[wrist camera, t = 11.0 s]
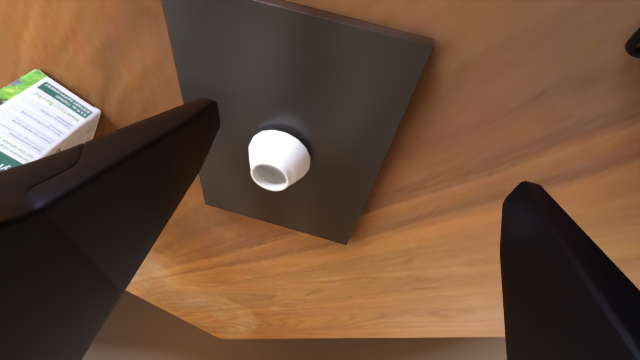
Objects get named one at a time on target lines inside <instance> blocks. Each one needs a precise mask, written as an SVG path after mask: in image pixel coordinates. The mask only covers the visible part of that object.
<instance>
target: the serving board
mask: <svg viewBox="0 0 640 360" xmlns="http://www.w3.org/2000/svg"><path fill="white" fill-rule="evenodd" d="M161 1H162V6H163V11H164V15H165V20H166V24H167V29H168V34H169V38H170V43H171V47H172V52H173V57H174V61H175V66H176V70H177V75H178V80H179V84H180V89H181V93H182V98H183V103H184V104H186V103H189V102H191V101H194V100H197V99H199V98H208V99H212V100H215V101H216V102H217V104H218V109H219V116H220V129H219V132H218V134H217V136H216V138H215V140H214V142H213V145H212V147H211V149H210V151H209V153H208V155H207V157H206V160H205V162H204V164H203V166H202V168H201V170H200V171H199V176H200V181H201V185H202V190H203V195H204V199H205V204H207V205H210V206H214V207H217V208H220V209H224V210H227V211H231V212H234V213H238V214H241V215H245V216H248V217H251V218H255V219H258V220H262V221H265V222H269V223H272V224H275V225H279V226H282V227H286V228H289V229H293V230H296V231H300V232H303V233H306V234H310V235H313V236H317V237H320V238H324V239H327V240H330V241H334V242H337V243H341V244H344V245H347V243H348V241H349V239H350V236H351V234H352V232H353V230H354V227H355V225H356V223H357V221H358V218H359V216H360V214H361V211H362V209H363V207H364V205H365V202H366V200H367V198H368V195H369V193H370V191H371V189H372V186H373V184H374V182H375V179H376V177H377V175H378V173H379V170H380V168H381V166H382V164H383V161H384V159H385V157H386V154H387V152H388V150H389V148H390V145H391V143H392V141H393V138H394V136H395V134H396V132H397V129H398V127H399V125H400V122H401V120H402V118H403V116H404V113H405V111H406V109H407V107H408V104H409V102H410V100H411V97H412V95H413V93H414V91H415V88H416V86H417V84H418V81H419V79H420V77H421V75H422V72H423V70H424V68H425V65H426V63H427V61H428V59H429V56H430V54H431V52H432V50H433V47H434V45H433V39H430V38H426V37H423V36H419V35H415V34H411V33H407V32H403V31H399V30H395V29H392V28H388V27H384V26H380V25H376V24H372V23H368V22H364V21H361V20H357V19H353V18H349V17H345V16H341V15H337V14H334V13H330V12H326V11H322V10H318V9H314V8H310V7H306V6H303V5H299V4H295V3H291V2H287V1H283V0H161ZM268 130H276V131H281V132H285V133H287V134H289V135H291V136H293V137H295V138H296V139H298V140H299V141H300V142H301V143H302V144H303V145H304V146H305V147H306V148H307V151H308V153H309V156H310V167H309V170H308V171H307V172H306V174H305V175H304V176H303V177H302V178H300V179H299V180H298V181H296V182H295V183H293V184H291V185H289V186H288V187H287V188H286V189H284V190H281V191H271V190H267V189H265V188H263V187H261V186H259V185H258V184H257V183H256V182H255V181H254V180H253V178H252V176H251V173H250V171H251V168H250V161H249V148H248V147H249V145H250V142H251V140H252V138H253V137H254V136H255V135H257V134H258V133H260V132H261V131H268Z"/></svg>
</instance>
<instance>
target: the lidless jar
mask: <svg viewBox="0 0 640 360" xmlns="http://www.w3.org/2000/svg"><path fill="white" fill-rule="evenodd" d="M248 148H249V161H250V168H251V171H250V173H251V176H252V178H253V180H254V181H255V182H256V183H257V184H258V185H259V186H261V187H263V188H265V189H267V190H271V191H281V190H284V189H286V188H287V187H288V186H289V185H291V184H293V183H295V182H296V181H298V180H299V179H300V178H302V177H303V176H304V175H305V174H306V172H307V171H308V170H309V167H310V156H309V153H308V151H307V148H306V147H305V146H304V145H303V144H302V143H301V142H300V141H299V140H298V139H296V138H295V137H293V136H291V135H289V134H287V133H285V132H281V131H276V130H268V131H261V132H260V133H258V134H257V135H255V136H254V137H253V138H252V140H251V142H250V145H249V147H248Z"/></svg>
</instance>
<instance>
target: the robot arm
mask: <svg viewBox="0 0 640 360" xmlns="http://www.w3.org/2000/svg"><path fill="white" fill-rule="evenodd" d="M639 43H640V28H639V29H638V30H637V31H636V32H635V33H634V34H633V36H632V37H631V38H630V39H629V40H628V41H627V43H626V44H625V50H626V52H627V53H628V54H629V55H631V56H633V57H637V58H640V47H639V48H635V47H636V45H638V44H639ZM219 129H220V116H219V109H218V104H217V102H216V101H215V100H212V99H208V98H199V99H197V100H194V101H191V102H189V103H186V104H184V105H181V106H178V107H176V108H173V109H170V110H168V111H165V112H163V113H160V114H157V115H155V116H152V117H150V118H147V119H144V120H142V121H139V122H137V123H134V124H131V125H129V126H126V127H123V128H121V129H118V130H116V131H113V132H110V133H108V134H105V135H103V136H100V137H97V138H95V139H92V140H89V141H87V142H85V144H83V143H81V144H79V145H76V146H74V147H71V148H68V149H66V150H63V151H60V152H58V153H55V154H52V155H49V156H47V157H44V158H41V159H38V160H35V161H32V162H28V163H25V164H22V165H19V166H16V167H13V168H10V169H7V170H3V171H0V360H82V358H83V357H84V355H85V353H86V352H87V350H88V349H89V347H90V346H91V344H92V342H93V341H94V339H95V338H96V336H97V334H98V333H99V331H100V330H101V328H102V326H103V325H104V323H105V322H106V320H107V319H108V317H109V315H110V314H111V312H112V311H113V309H114V307H115V306H116V304H117V303H118V301H119V299H120V298H121V296H122V295H121V294H123V293H124V291H125V289H126V288H127V286H128V285H129V283H130V282H131V280H132V278H133V277H134V275H135V274H136V272H137V270H138V269H139V267H140V266H141V264H142V262H143V261H144V259H145V258H146V256H147V254H148V253H149V251H150V250H151V248H152V246H153V245H154V243H155V242H156V240H157V238H158V237H159V235H160V234H161V232H162V231H163V229H164V227H165V226H166V224H167V223H168V221H169V219H170V218H171V216H172V215H173V213H174V211H175V210H176V208H177V207H178V205H179V203H180V202H181V200H182V199H183V197H184V195H185V194H186V192H187V191H188V189H189V187H190V186H191V184H192V183H193V181H194V180H195V178H196V176H197V175H198V173H199V171H200V170H201V168H202V166H203V164H204V162H205V160H206V157H207V155H208V153H209V151H210V149H211V147H212V145H213V142H214V140H215V138H216V136H217V134H218V132H219ZM500 263H501V278H502V293H503V307H504V322H505V337H506V352H507V360H640V290H639V289H638V288H637V287H636V286H635V285H634V284H633V283H632V282H631V281H630V280H629V279H628V278H627V277H626V276H625V275H624V273H623V272H622V271H621V270H620V269H619V268H618V267H617V266H616V265H615V264H614V263H613V262H612V261H611V260H610V259H609V258H608V257H607V255H606V254H605V253H604V252H603V251H602V250H601V249H600V248H599V247H598V246H597V245H596V244H595V243H594V242H593V241H592V240H591V239H590V237H589V236H588V235H587V234H586V233H585V232H584V231H583V230H582V229H581V228H580V227H579V226H578V225H577V224H576V223H575V222H574V220H573V219H572V218H571V217H570V216H569V215H568V214H567V213H566V212H565V211H564V210H563V209H562V208H561V207H560V206H559V205H558V204H557V202H556V201H555V200H554V199H553V198H552V197H551V196H550V195H549V194H548V193H547V192H546V191H545V190H544V189H543V188H542V187H541V186H540V185H538V184H535V183H531V182H527V181H523V182H521V183H520V184H519V185H518V186H517V187H516V188H515V189H514V190H513V191H512V192H511V193H510V194H509V195H508V196H507V197H506V199H505V200H504V203H503V208H502V224H501V240H500Z"/></svg>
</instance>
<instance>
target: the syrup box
mask: <svg viewBox="0 0 640 360" xmlns="http://www.w3.org/2000/svg"><path fill="white" fill-rule="evenodd" d="M100 115H101V110H99V109H98V108H96V107H93V106H91V105H90V104H88V103H87V102H85V101H84V100H82V99H81V98H79V97H78V96H76V95H75V94H73V93H72V92H70V91H69V90H67V89H66V88H64V87H63V86H61V85H60V84H58V83H57V82H55V81H54V80H52V79H51V78H49V77H48V76H47V75H45V74H44V73H43V72H41V71H40V70H37V69H35V70H33V71H31V72H29V73H27V74H26V75H24V76H22V77H21V78H19V79H17V80H16V81H14V82H12V83H10V84H9V85H7V86H5V87H4V88H2V89H1V90H0V171H3V170H7V169H10V168H13V167H16V166H19V165H22V164H25V163H28V162H32V161H35V160H38V159H41V158H44V157H47V156H49V155H52V154H55V153H58V152H60V151H63V150H66V149H68V148H71V147H74V146H76V145H79V144H81V143H83V144H85V142H87V141H89V140H92V139H93V137H94V134H95V131H96V128H97V125H98V122H99V118H100Z"/></svg>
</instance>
